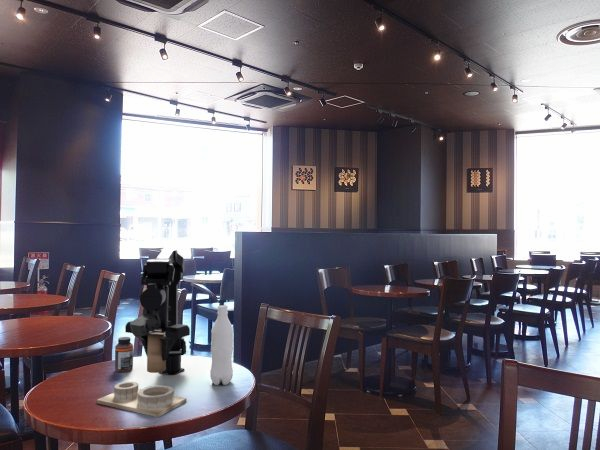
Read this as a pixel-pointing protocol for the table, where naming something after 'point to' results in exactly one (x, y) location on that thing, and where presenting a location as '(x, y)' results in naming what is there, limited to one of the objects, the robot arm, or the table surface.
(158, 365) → the walnut peg
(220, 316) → the water bottle
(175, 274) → the robot arm
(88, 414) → the table surface
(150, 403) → the two-ring peg board
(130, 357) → the supplement bottle
